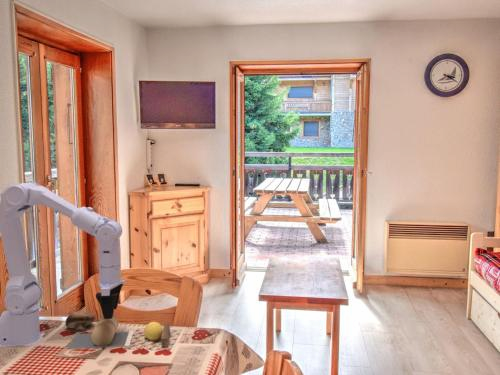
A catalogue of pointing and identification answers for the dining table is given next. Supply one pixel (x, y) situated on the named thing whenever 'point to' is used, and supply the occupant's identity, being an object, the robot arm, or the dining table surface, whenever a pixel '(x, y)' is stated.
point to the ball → (153, 331)
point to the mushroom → (79, 320)
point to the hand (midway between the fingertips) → (110, 313)
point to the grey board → (87, 342)
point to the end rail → (165, 335)
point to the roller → (104, 331)
